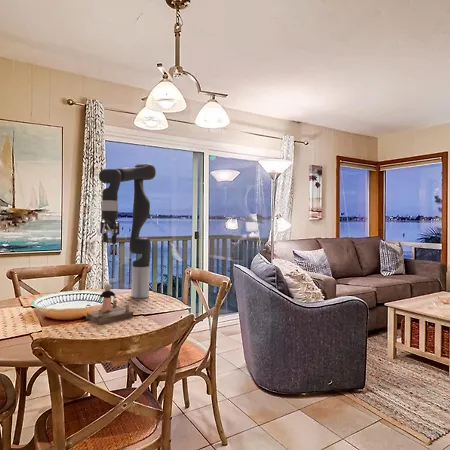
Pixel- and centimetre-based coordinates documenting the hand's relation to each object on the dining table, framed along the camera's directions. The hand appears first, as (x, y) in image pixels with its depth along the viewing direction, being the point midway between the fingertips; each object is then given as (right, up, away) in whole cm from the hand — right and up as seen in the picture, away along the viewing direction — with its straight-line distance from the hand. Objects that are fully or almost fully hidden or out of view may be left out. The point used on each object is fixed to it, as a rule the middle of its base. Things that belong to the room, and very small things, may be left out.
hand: (109, 243), depth 175 cm
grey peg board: (+4, -33, -14) cm, 36 cm away
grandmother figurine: (+4, -30, -14) cm, 34 cm away
